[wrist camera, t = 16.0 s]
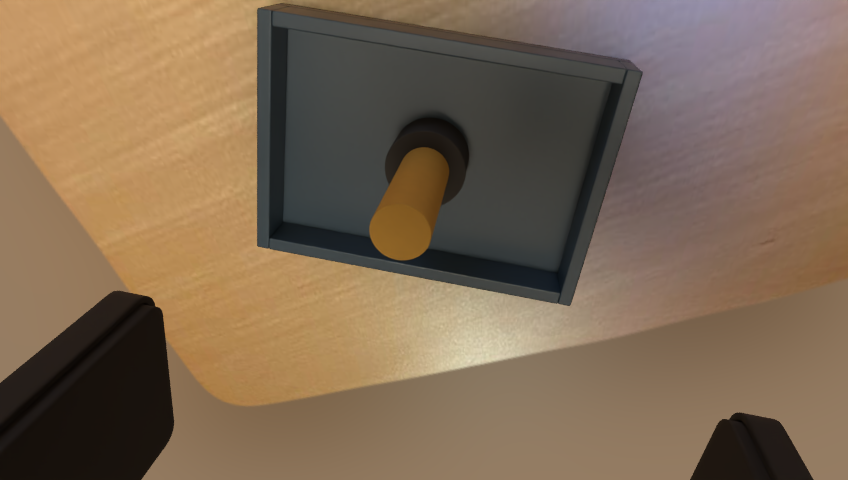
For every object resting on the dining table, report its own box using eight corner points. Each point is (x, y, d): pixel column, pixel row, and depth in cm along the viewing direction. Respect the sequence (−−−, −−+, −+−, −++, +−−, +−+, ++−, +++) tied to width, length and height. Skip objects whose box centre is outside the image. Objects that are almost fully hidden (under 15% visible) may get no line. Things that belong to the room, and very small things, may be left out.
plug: (475, 124, 29) (460, 194, 20) (462, 196, 31) (443, 287, 22) (398, 111, 29) (352, 174, 21) (389, 183, 31) (344, 268, 23)
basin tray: (630, 60, 27) (643, 71, 25) (565, 278, 33) (570, 306, 30) (280, 2, 28) (256, 7, 26) (276, 224, 34) (256, 247, 31)
